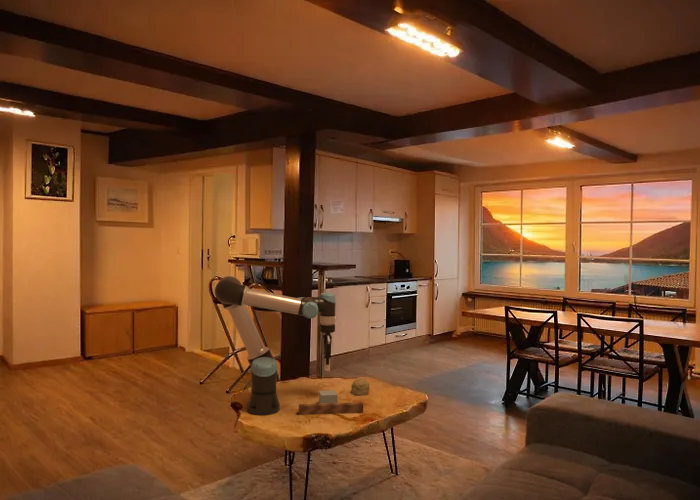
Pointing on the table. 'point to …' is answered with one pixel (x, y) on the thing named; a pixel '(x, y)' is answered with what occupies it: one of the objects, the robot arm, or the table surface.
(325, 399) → the block
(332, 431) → the table surface
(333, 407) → the brown wooden bar
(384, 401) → the table surface
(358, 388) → the decorative object
